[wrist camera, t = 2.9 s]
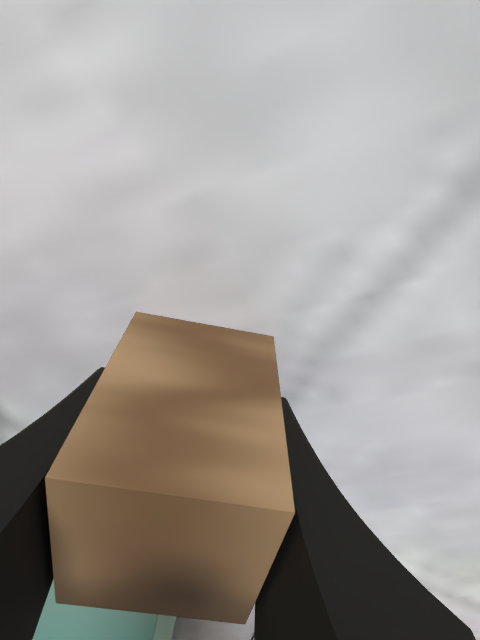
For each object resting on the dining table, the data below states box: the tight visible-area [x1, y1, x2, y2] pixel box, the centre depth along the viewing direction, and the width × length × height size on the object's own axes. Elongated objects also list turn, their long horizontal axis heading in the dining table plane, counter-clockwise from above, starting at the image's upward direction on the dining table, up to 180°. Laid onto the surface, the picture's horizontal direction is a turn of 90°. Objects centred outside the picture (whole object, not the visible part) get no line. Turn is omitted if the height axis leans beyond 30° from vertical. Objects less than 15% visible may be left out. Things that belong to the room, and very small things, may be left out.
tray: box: [32, 579, 177, 640], centre depth 18 cm, size 16×16×2 cm
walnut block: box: [45, 312, 295, 624], centre depth 10 cm, size 4×4×6 cm
